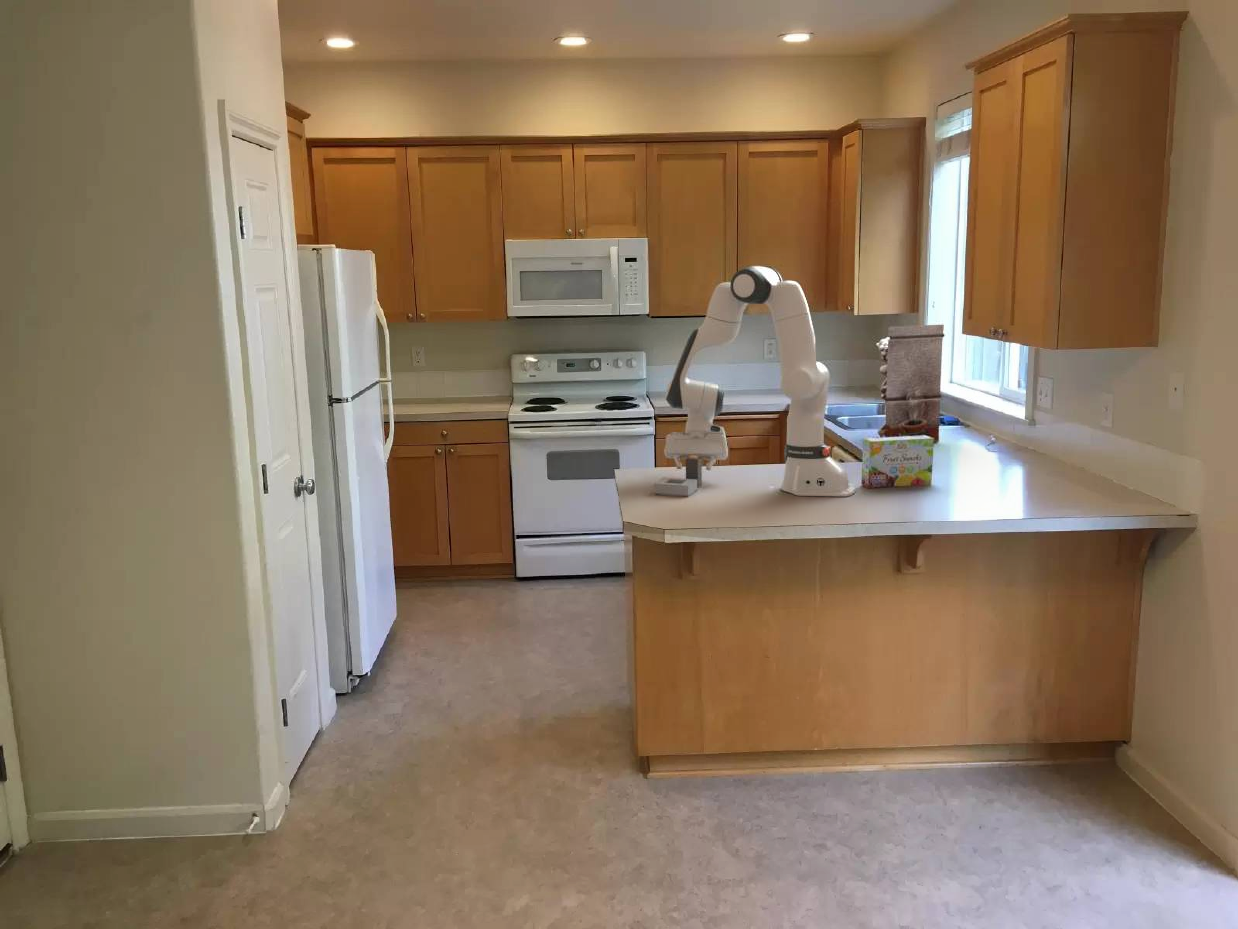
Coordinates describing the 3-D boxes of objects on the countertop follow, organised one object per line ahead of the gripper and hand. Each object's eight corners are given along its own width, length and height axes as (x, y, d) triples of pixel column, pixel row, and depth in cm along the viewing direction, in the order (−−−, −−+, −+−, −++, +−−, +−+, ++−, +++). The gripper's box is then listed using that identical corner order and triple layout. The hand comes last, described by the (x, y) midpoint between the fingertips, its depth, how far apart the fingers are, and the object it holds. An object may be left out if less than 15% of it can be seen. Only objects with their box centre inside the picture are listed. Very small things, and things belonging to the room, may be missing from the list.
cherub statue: (912, 435, 379) (917, 322, 371) (939, 442, 362) (945, 324, 353) (861, 439, 374) (864, 324, 365) (886, 446, 356) (890, 326, 347)
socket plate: (697, 490, 292) (697, 479, 291) (688, 497, 284) (688, 485, 283) (663, 488, 296) (663, 477, 296) (653, 494, 288) (653, 483, 287)
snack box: (868, 489, 289) (870, 440, 286) (860, 485, 294) (862, 437, 291) (932, 484, 293) (934, 437, 290) (923, 481, 298) (925, 434, 295)
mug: (896, 469, 317) (898, 425, 314) (873, 463, 327) (874, 420, 324) (936, 463, 325) (938, 420, 322) (911, 457, 335) (913, 416, 332)
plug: (701, 485, 300) (701, 455, 298) (698, 487, 296) (697, 457, 294) (689, 484, 301) (689, 454, 299) (685, 486, 298) (685, 457, 296)
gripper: (665, 426, 305) (659, 462, 298) (728, 428, 300) (724, 464, 293) (668, 437, 310) (662, 473, 303) (730, 439, 305) (726, 475, 298)
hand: (693, 468), depth 298 cm, fingers open, 8 cm apart
